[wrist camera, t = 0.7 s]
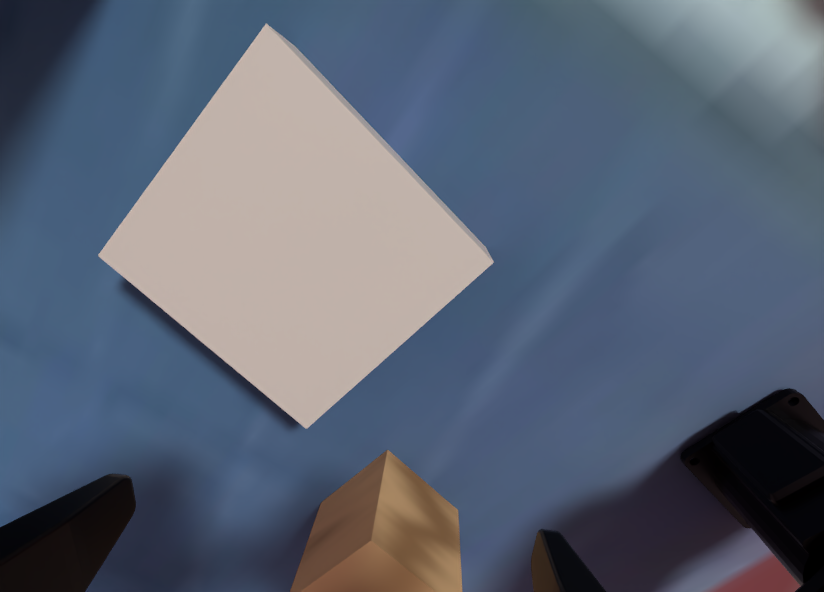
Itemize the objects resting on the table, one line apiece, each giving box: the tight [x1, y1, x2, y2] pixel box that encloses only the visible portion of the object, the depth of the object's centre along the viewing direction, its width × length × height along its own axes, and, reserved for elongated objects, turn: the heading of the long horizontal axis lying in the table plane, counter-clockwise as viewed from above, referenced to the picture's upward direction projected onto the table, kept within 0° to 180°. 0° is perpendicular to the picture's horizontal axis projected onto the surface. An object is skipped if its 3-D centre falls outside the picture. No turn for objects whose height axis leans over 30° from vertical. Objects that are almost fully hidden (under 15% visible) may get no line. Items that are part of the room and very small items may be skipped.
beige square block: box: [98, 24, 494, 429], centre depth 18 cm, size 12×12×3 cm
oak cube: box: [290, 450, 462, 592], centre depth 22 cm, size 6×6×6 cm
